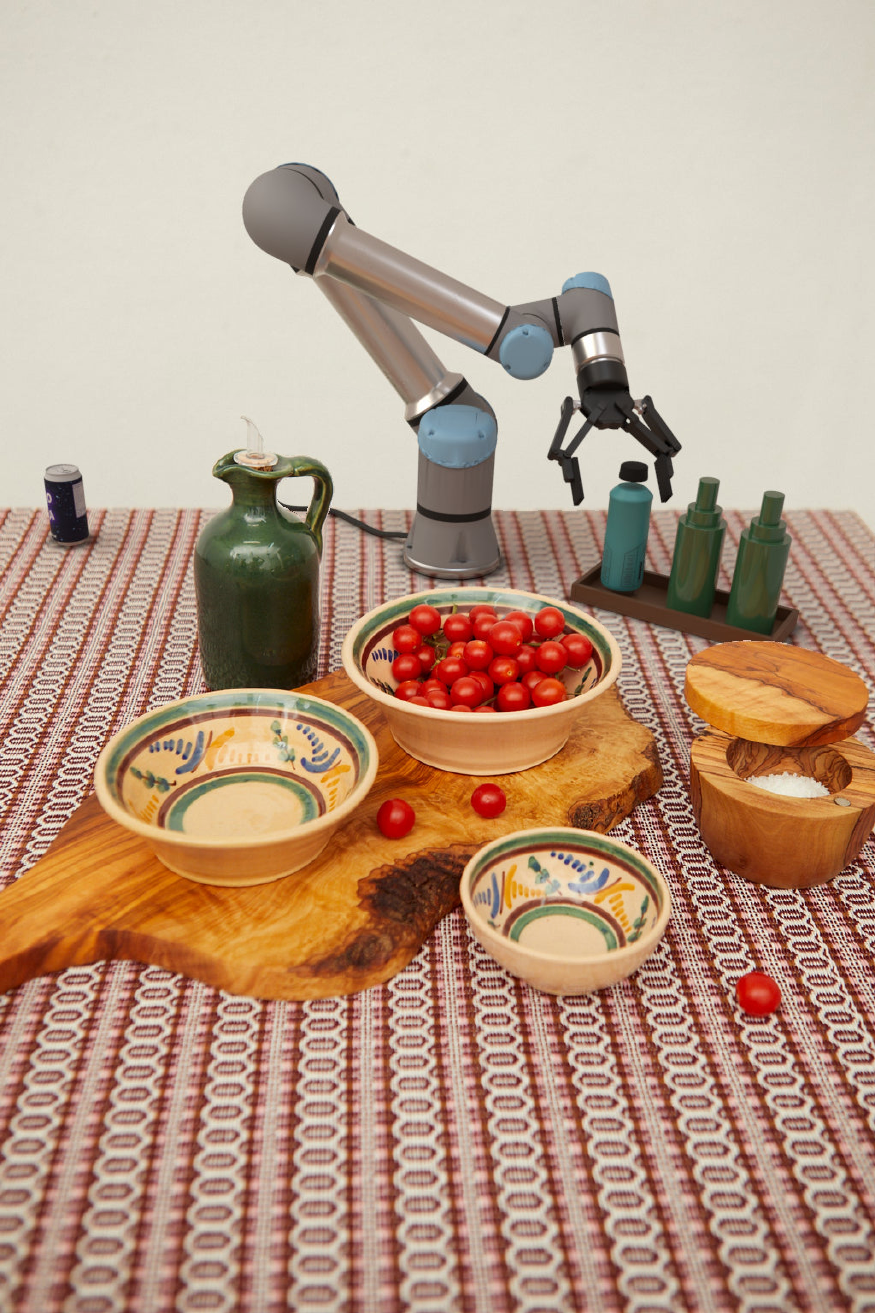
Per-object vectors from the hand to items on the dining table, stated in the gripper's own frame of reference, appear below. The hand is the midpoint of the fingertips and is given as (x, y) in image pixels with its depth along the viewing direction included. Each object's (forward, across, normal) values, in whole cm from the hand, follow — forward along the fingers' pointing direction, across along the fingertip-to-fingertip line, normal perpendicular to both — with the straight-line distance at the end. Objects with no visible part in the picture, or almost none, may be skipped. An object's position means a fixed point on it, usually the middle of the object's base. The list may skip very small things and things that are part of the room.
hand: (623, 500), depth 159 cm
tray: (+16, -8, -4) cm, 18 cm away
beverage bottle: (+11, -1, -9) cm, 14 cm away
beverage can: (-10, +81, -32) cm, 87 cm away
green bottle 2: (+21, -15, +1) cm, 25 cm away
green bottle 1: (+16, -8, -3) cm, 19 cm away
